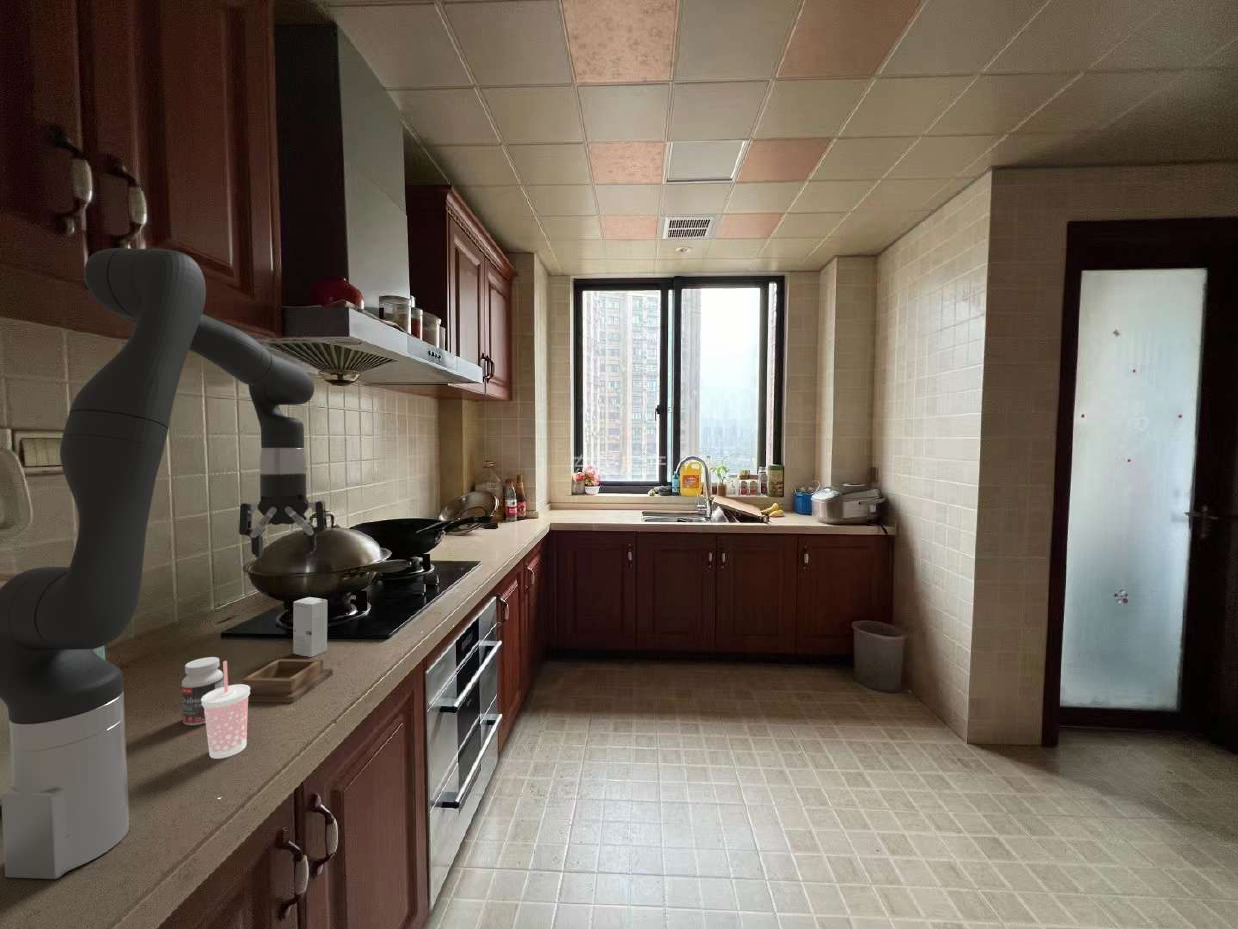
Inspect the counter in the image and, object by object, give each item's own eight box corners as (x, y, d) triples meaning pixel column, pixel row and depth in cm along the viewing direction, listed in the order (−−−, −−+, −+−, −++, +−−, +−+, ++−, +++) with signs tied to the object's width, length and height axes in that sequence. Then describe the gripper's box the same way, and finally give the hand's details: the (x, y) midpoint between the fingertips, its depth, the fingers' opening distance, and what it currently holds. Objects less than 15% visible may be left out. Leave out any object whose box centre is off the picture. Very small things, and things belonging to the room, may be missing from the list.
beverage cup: (214, 742, 84) (211, 656, 83) (258, 736, 85) (255, 651, 85) (195, 764, 78) (191, 672, 77) (242, 757, 80) (239, 666, 79)
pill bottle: (175, 729, 88) (173, 670, 87) (193, 712, 93) (190, 657, 93) (215, 724, 89) (213, 666, 89) (230, 708, 95) (228, 654, 94)
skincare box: (292, 654, 119) (290, 601, 119) (310, 647, 123) (308, 596, 123) (311, 658, 117) (310, 604, 117) (329, 650, 121) (327, 598, 121)
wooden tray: (293, 702, 97) (292, 683, 96) (231, 701, 97) (230, 682, 97) (332, 674, 109) (332, 657, 108) (277, 673, 109) (276, 656, 109)
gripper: (232, 473, 96) (233, 561, 96) (320, 471, 100) (321, 556, 100) (247, 471, 103) (249, 554, 103) (329, 470, 107) (330, 550, 107)
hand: (284, 555), depth 101 cm, fingers open, 8 cm apart
